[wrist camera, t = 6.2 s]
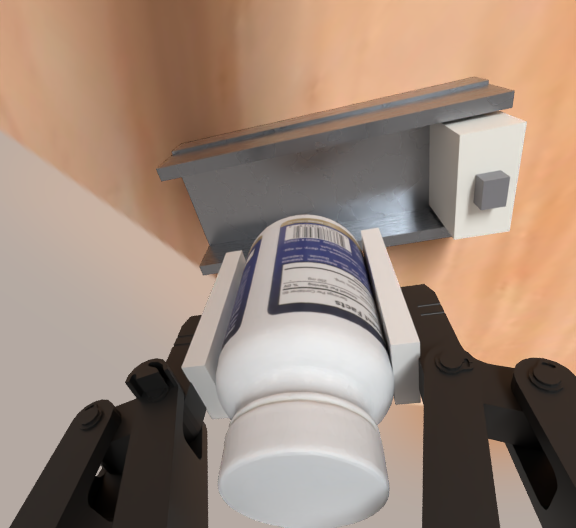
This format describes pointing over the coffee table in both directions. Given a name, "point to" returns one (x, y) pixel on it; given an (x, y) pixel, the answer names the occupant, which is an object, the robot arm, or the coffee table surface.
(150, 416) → the robot arm
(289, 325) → the pill bottle
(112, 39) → the coffee table surface
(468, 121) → the mounted module
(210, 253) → the rail
